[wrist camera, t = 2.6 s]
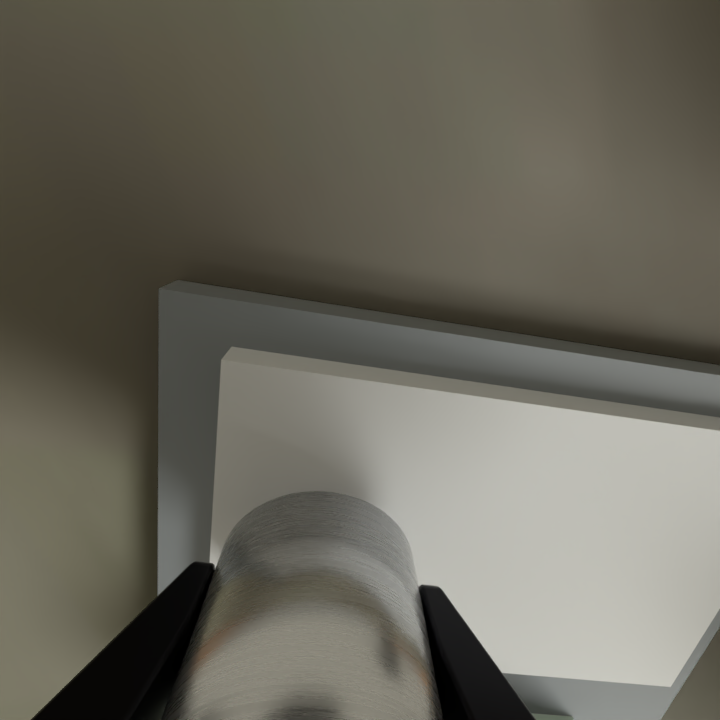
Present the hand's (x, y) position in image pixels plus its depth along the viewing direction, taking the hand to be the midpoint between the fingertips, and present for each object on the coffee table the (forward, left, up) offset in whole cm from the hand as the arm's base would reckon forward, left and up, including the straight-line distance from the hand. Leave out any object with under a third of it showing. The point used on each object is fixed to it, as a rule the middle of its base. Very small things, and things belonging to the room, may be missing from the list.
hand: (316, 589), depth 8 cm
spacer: (0, 0, 0) cm, 0 cm away
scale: (-4, +3, -3) cm, 6 cm away
